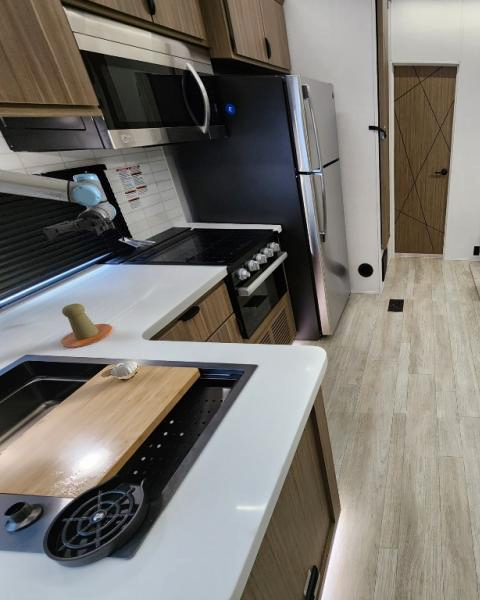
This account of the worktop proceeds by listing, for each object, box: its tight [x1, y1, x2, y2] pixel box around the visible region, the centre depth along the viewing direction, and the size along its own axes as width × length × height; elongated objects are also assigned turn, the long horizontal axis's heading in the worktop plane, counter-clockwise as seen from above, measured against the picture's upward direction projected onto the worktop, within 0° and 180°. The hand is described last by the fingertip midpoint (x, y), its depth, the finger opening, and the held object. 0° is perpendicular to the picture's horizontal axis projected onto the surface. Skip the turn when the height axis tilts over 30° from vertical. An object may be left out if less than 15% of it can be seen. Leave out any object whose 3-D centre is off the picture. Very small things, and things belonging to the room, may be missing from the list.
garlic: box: [110, 360, 139, 377], centre depth 91 cm, size 6×5×5 cm
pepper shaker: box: [61, 303, 99, 340], centre depth 106 cm, size 6×6×11 cm
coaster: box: [60, 323, 114, 349], centre depth 109 cm, size 13×13×1 cm
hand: (71, 234), depth 114 cm, fingers open, 13 cm apart
